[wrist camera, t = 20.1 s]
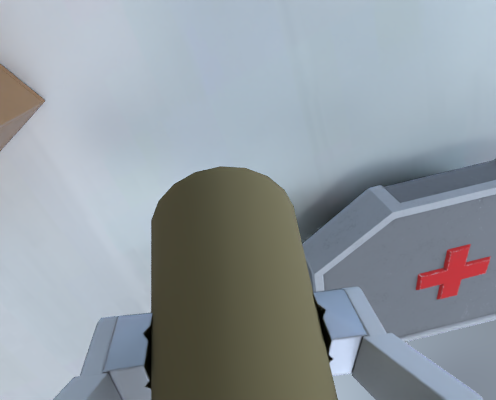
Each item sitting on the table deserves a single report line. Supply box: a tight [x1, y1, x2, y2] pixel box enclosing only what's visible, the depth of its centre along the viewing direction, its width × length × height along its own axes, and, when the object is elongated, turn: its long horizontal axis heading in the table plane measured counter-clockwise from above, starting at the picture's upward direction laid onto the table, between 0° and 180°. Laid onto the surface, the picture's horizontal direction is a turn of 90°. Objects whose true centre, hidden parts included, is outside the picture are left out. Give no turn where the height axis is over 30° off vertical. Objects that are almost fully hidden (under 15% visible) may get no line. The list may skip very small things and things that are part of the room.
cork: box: [151, 167, 338, 400], centre depth 8 cm, size 6×6×11 cm
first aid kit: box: [302, 159, 496, 342], centre depth 30 cm, size 18×8×25 cm
